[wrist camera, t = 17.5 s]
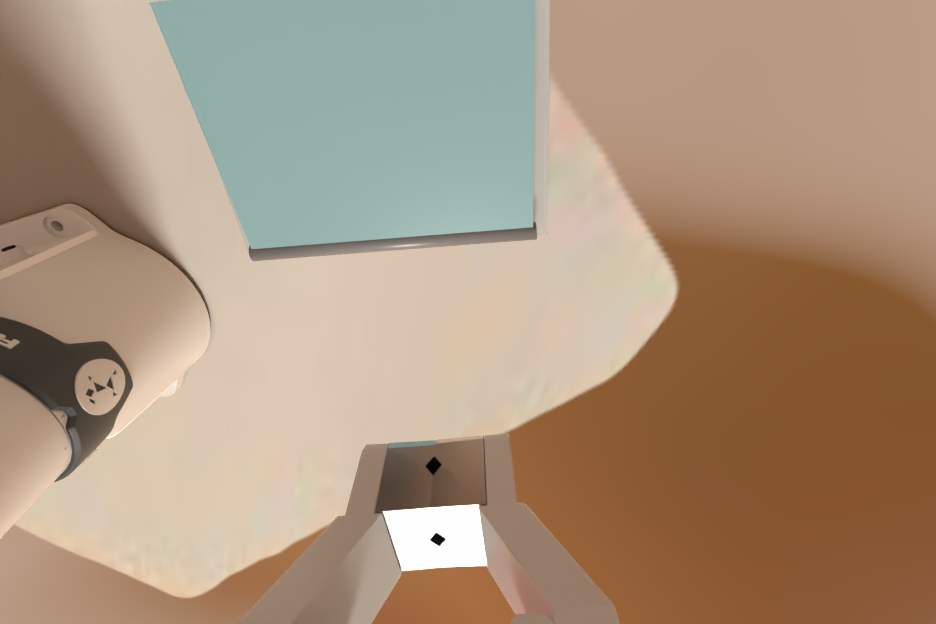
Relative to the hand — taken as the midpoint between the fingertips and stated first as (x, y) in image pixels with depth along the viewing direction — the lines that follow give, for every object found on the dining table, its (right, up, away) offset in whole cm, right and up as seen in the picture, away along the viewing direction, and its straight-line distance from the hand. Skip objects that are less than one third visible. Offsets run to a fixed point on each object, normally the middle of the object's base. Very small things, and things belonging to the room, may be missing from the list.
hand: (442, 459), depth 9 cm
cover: (-4, +12, +13) cm, 18 cm away
